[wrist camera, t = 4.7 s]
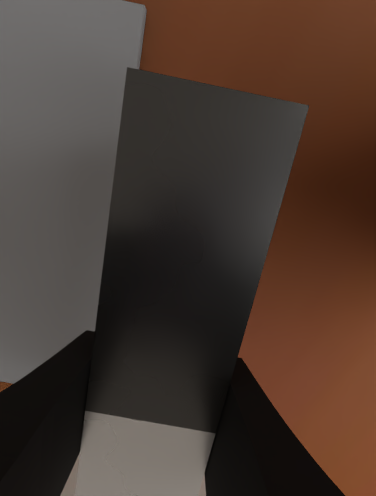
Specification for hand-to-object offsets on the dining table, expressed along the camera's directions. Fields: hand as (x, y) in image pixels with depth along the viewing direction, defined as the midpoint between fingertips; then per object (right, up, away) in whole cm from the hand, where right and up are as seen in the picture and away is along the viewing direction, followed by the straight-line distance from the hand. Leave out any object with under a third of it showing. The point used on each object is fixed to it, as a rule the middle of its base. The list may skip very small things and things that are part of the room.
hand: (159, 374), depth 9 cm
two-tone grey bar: (0, +1, +2) cm, 2 cm away
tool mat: (-6, +5, +6) cm, 10 cm away
